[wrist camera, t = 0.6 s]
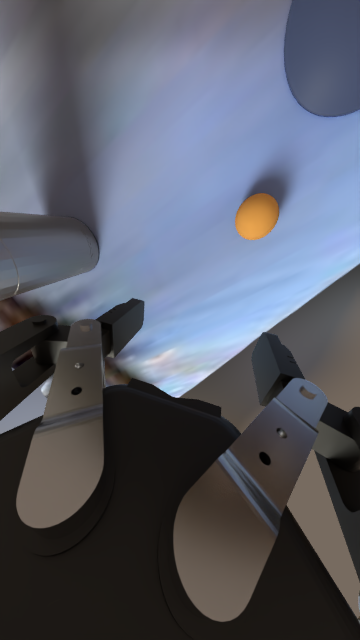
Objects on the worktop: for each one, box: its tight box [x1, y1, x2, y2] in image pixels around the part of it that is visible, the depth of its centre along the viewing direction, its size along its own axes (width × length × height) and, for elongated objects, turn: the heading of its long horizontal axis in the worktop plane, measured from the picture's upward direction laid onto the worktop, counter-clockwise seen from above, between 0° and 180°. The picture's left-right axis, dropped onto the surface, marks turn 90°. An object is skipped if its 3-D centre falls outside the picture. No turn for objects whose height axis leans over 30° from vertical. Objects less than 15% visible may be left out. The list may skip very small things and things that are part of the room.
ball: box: [235, 193, 279, 240], centre depth 21 cm, size 5×5×5 cm
